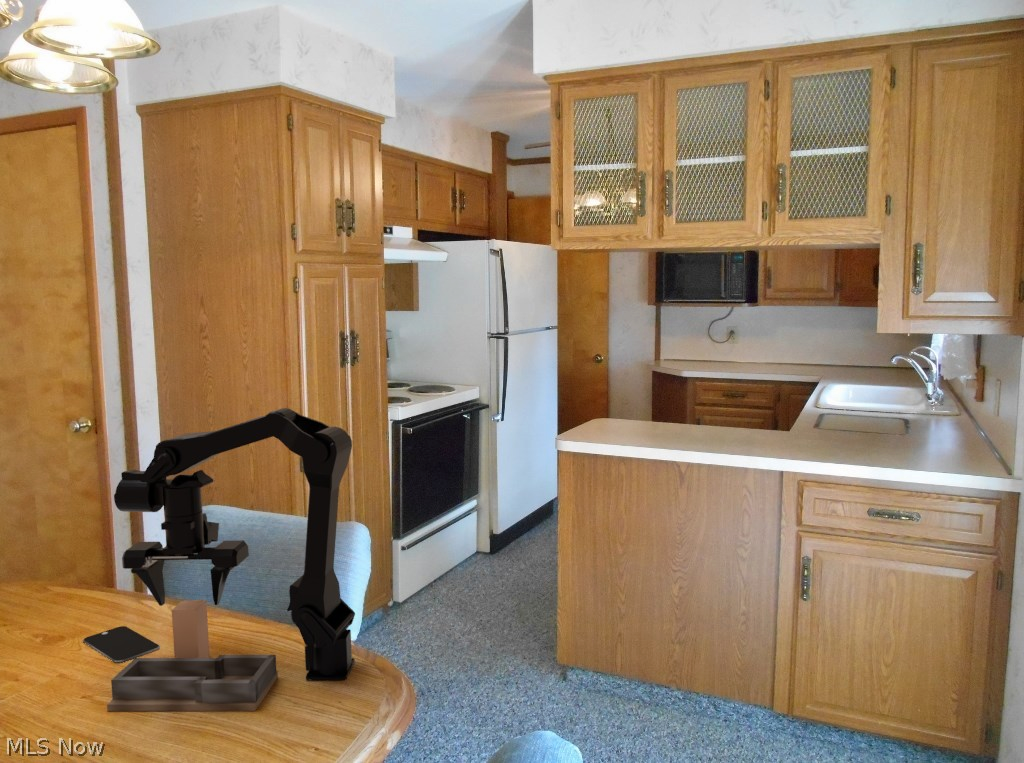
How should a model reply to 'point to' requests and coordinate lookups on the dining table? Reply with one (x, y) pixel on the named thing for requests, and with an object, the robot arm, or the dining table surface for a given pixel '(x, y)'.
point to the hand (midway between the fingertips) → (189, 604)
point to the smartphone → (121, 644)
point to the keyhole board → (194, 683)
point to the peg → (190, 629)
